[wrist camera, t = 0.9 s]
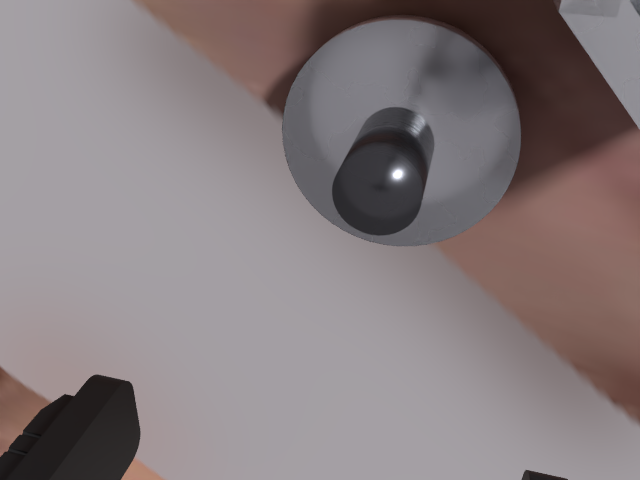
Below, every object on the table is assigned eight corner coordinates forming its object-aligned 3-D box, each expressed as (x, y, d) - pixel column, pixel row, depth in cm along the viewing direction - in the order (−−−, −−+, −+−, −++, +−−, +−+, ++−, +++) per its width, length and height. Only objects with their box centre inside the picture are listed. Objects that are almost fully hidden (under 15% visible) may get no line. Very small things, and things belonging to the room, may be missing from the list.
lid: (301, -4, 26) (238, 35, 20) (543, 20, 24) (560, 71, 18) (295, 203, 31) (244, 285, 25) (494, 235, 29) (492, 333, 23)
